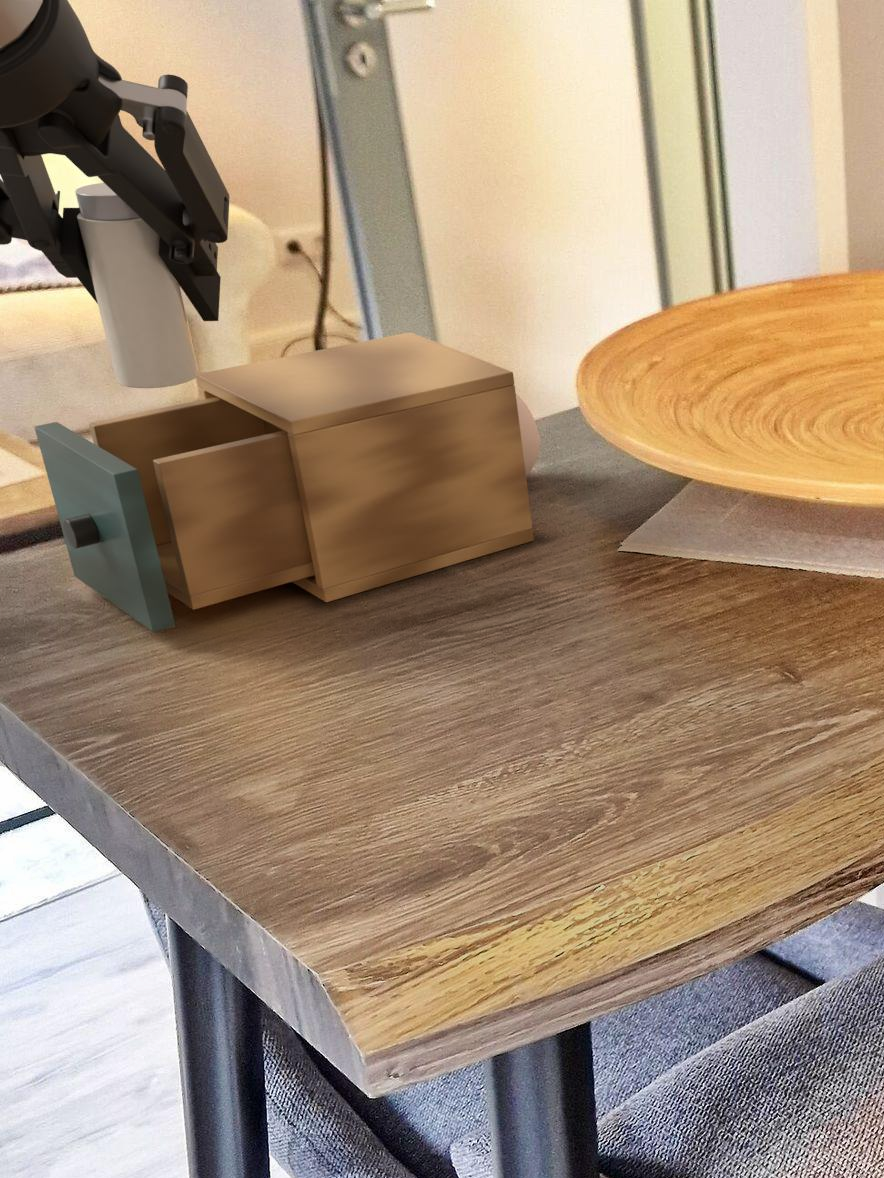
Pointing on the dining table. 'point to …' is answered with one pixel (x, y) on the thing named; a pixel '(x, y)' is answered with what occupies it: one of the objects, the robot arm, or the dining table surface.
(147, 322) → the salt shaker
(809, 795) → the dining table surface
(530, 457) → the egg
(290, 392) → the cabinet
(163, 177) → the robot arm
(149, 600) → the drawer
